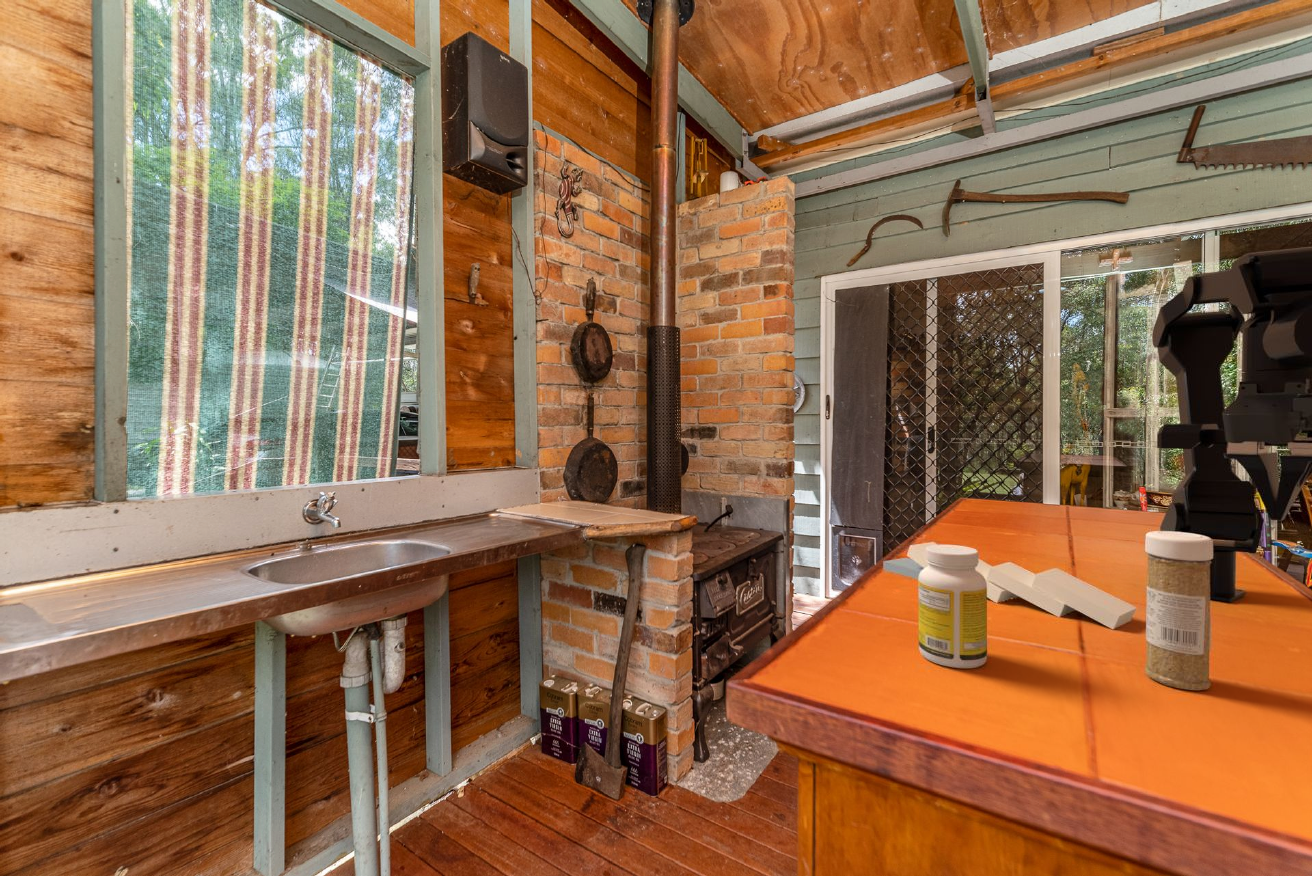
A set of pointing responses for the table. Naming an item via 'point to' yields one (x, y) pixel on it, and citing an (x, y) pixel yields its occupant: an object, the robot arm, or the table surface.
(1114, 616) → the domino
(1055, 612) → the domino
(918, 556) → the domino
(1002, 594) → the domino
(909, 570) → the domino
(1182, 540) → the spice jar
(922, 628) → the pill bottle
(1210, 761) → the table surface
